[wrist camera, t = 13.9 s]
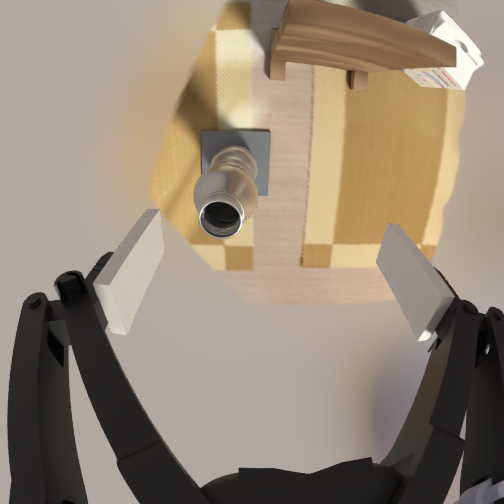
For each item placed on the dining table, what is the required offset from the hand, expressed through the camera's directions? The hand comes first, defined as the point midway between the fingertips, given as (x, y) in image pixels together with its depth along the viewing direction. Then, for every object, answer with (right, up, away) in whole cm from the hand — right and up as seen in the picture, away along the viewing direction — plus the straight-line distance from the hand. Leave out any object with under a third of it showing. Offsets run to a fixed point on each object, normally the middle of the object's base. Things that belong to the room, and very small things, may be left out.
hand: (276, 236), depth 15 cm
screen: (+8, +27, +16) cm, 32 cm away
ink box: (+24, +31, +14) cm, 41 cm away
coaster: (-4, +12, +25) cm, 28 cm away
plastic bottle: (-4, +12, +25) cm, 28 cm away
